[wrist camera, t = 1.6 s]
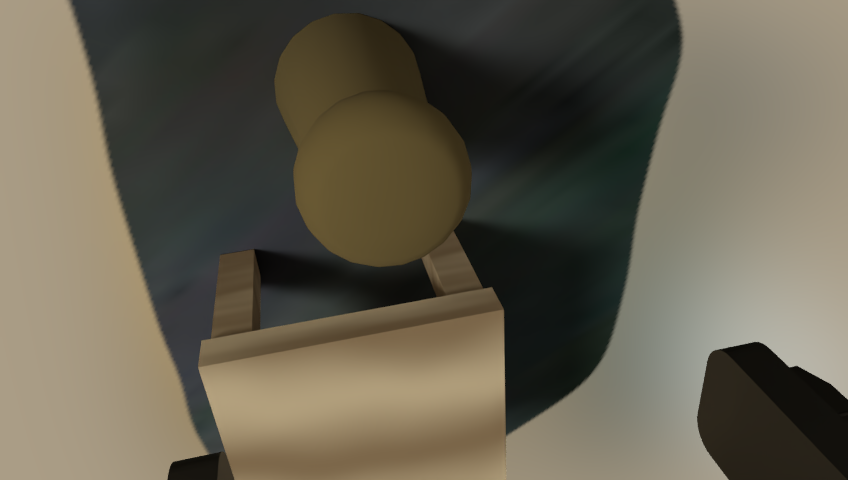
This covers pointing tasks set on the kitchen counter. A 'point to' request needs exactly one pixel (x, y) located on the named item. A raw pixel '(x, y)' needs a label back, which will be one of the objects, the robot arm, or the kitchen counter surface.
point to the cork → (369, 143)
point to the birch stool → (361, 382)
